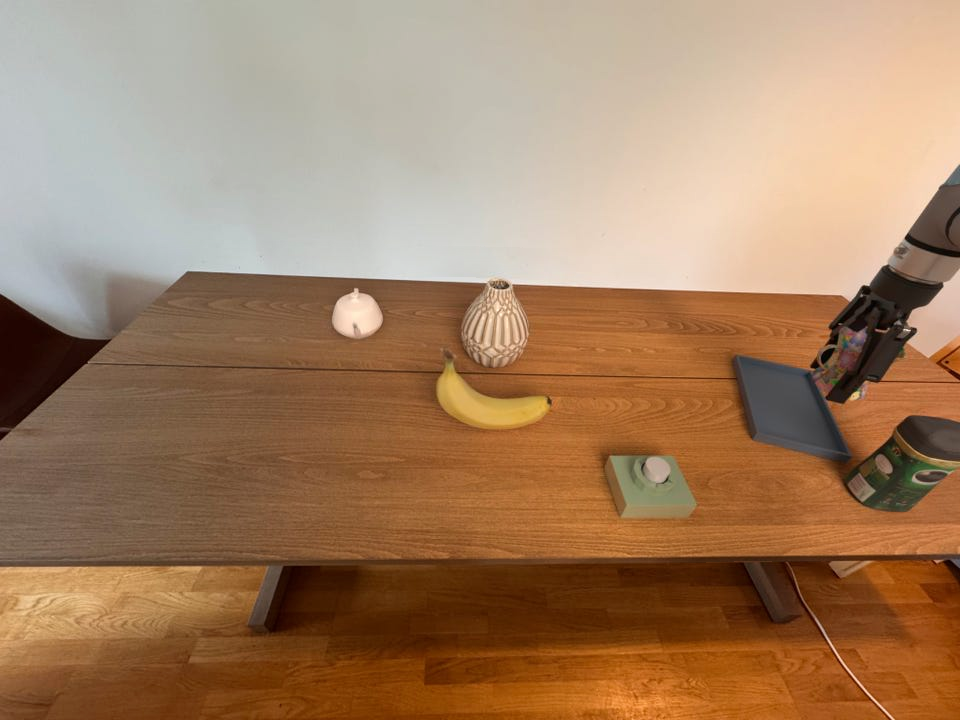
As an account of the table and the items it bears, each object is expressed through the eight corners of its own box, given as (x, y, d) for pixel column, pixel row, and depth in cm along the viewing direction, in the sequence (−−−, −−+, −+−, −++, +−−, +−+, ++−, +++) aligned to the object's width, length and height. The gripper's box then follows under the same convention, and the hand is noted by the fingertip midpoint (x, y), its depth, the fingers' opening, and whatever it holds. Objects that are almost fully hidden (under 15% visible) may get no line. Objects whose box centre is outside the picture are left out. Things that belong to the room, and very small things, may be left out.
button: (647, 483, 70) (650, 476, 68) (638, 463, 73) (642, 456, 72) (670, 483, 70) (674, 476, 69) (661, 463, 73) (665, 456, 72)
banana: (543, 412, 89) (561, 336, 76) (549, 433, 84) (569, 356, 71) (436, 415, 86) (435, 337, 73) (436, 437, 82) (435, 358, 69)
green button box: (620, 518, 71) (630, 498, 67) (603, 468, 78) (612, 448, 75) (688, 517, 72) (702, 498, 68) (665, 468, 79) (677, 448, 75)
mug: (843, 372, 81) (880, 327, 74) (877, 407, 73) (921, 360, 67) (781, 368, 80) (813, 322, 74) (809, 403, 73) (847, 356, 66)
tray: (846, 463, 83) (852, 456, 81) (752, 439, 86) (757, 433, 85) (807, 376, 103) (811, 370, 102) (732, 360, 106) (735, 354, 105)
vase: (525, 340, 108) (536, 269, 95) (524, 381, 96) (537, 307, 83) (464, 333, 109) (467, 263, 96) (455, 374, 96) (457, 299, 83)
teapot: (385, 351, 101) (381, 316, 95) (331, 356, 99) (324, 320, 92) (382, 306, 116) (379, 273, 110) (335, 309, 114) (329, 276, 107)
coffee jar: (886, 479, 80) (962, 412, 68) (915, 517, 74) (1004, 450, 62) (834, 473, 81) (901, 405, 69) (858, 510, 75) (937, 443, 63)
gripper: (859, 241, 71) (788, 346, 86) (920, 303, 55) (821, 419, 70) (910, 248, 70) (829, 354, 84) (987, 315, 54) (872, 431, 68)
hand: (825, 383), depth 77 cm, fingers closed on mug, 8 cm apart
